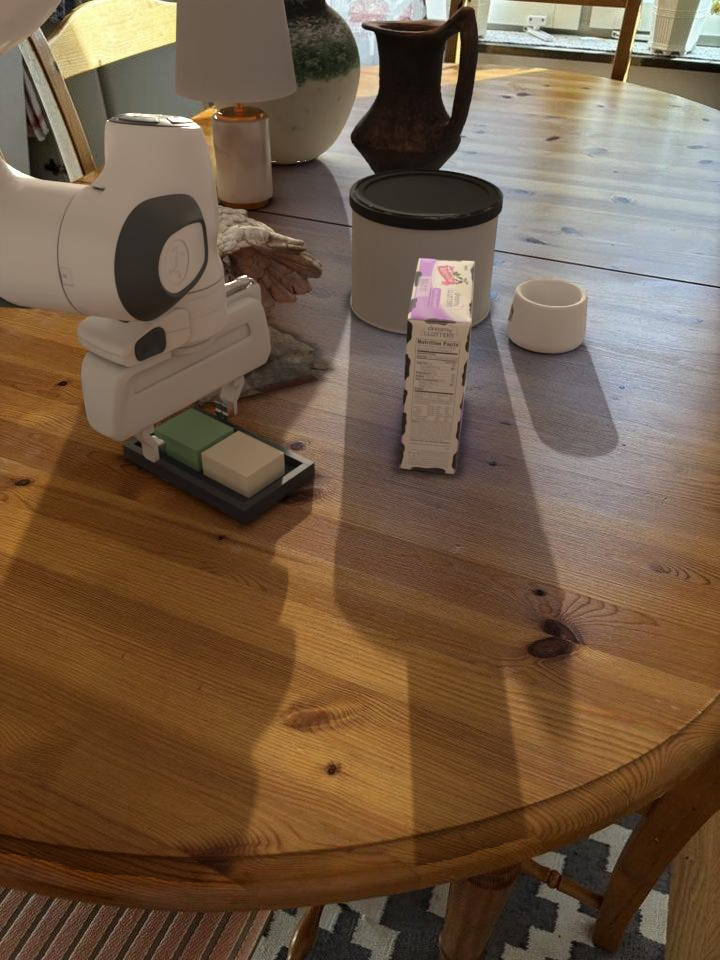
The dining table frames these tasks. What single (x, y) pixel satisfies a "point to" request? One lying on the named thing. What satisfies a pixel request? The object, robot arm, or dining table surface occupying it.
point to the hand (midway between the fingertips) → (192, 435)
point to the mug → (548, 316)
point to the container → (418, 238)
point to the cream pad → (243, 464)
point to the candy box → (436, 364)
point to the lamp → (236, 85)
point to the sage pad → (191, 436)
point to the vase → (313, 84)
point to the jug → (417, 93)
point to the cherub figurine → (269, 294)
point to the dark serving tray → (217, 493)
